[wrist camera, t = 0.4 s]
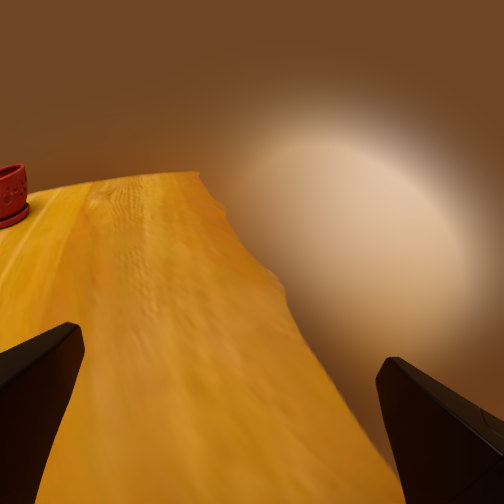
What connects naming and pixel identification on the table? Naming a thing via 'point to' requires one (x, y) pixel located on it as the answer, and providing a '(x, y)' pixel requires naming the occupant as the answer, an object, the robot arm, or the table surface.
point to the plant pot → (13, 194)
